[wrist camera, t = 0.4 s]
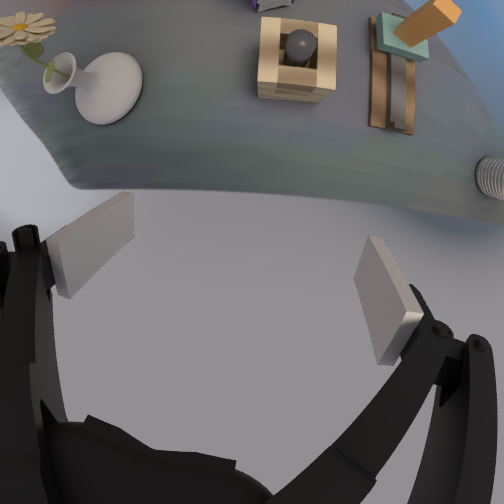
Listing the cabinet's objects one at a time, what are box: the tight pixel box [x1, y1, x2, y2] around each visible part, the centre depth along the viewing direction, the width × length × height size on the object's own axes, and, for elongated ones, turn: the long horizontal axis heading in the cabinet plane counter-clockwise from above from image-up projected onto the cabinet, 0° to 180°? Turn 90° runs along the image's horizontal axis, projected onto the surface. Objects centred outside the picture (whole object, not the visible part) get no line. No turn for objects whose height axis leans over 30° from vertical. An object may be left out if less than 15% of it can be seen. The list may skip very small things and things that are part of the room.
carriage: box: [376, 0, 462, 62], centre depth 22 cm, size 5×7×14 cm
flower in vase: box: [0, 12, 142, 125], centre depth 23 cm, size 13×11×25 cm
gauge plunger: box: [283, 29, 317, 68], centre depth 24 cm, size 3×3×6 cm
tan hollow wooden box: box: [257, 17, 337, 104], centre depth 29 cm, size 8×8×10 cm
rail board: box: [368, 13, 415, 135], centre depth 31 cm, size 18×7×4 cm, turn 177°
